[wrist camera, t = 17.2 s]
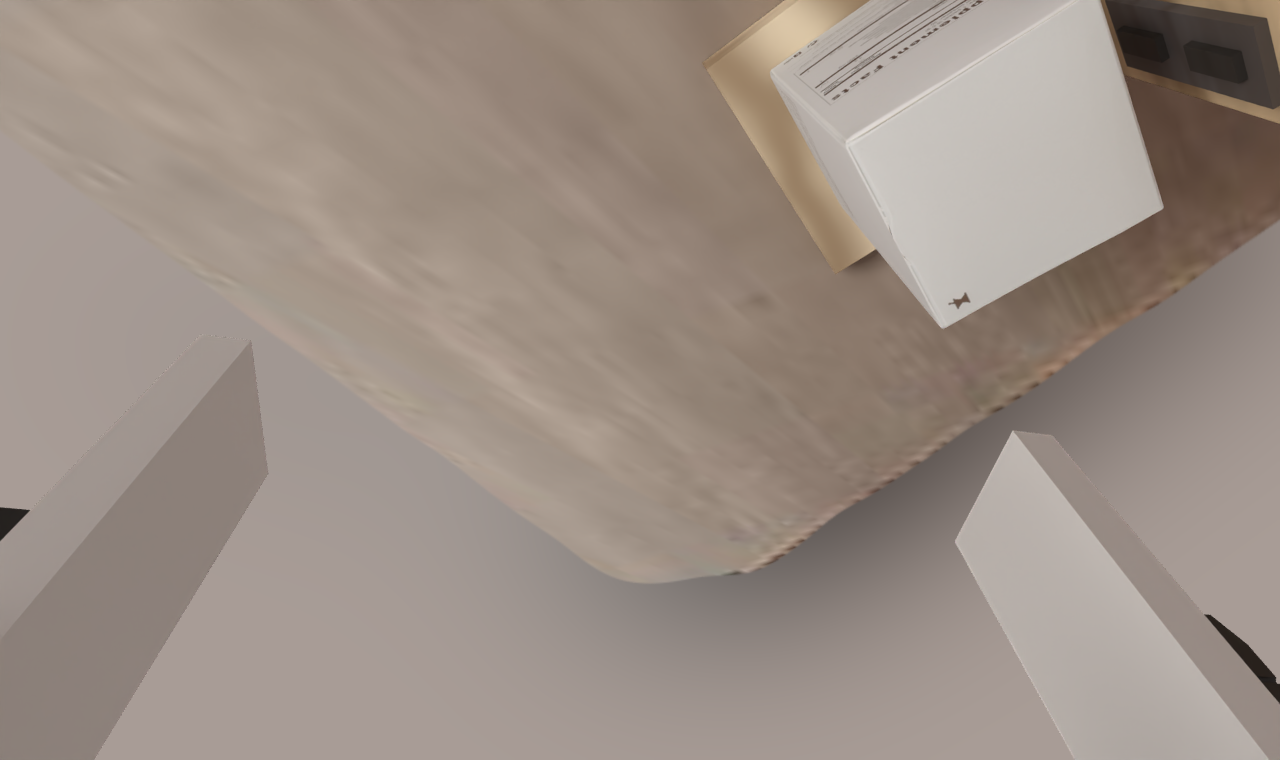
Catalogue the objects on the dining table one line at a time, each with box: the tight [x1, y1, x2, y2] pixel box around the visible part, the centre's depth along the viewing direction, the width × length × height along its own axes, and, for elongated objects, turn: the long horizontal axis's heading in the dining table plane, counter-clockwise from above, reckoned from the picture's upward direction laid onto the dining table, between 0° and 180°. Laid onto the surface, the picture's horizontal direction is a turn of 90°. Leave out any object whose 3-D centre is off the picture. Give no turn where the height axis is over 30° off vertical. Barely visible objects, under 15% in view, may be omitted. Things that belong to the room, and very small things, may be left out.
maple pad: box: [703, 0, 876, 274], centre depth 40 cm, size 14×14×2 cm
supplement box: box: [770, 0, 1164, 328], centre depth 32 cm, size 9×9×15 cm
